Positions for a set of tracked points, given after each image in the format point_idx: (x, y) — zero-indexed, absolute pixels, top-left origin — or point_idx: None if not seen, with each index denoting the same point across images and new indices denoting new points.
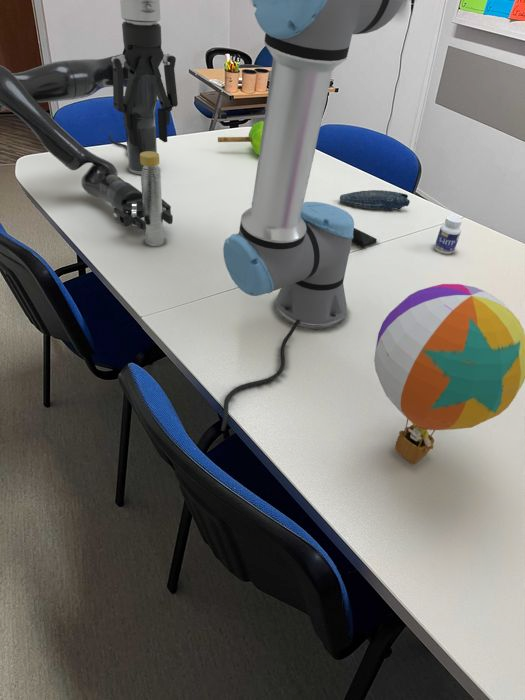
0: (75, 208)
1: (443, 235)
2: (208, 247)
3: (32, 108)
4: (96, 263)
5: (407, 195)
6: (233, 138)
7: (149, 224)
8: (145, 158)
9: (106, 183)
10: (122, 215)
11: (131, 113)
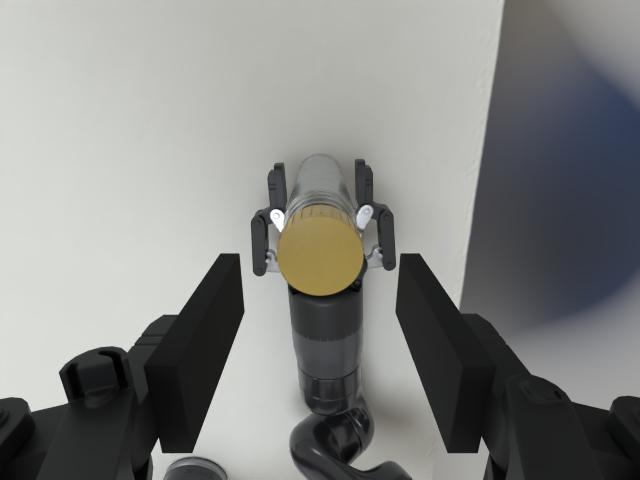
0: (396, 380)
1: None
2: (211, 88)
3: None
4: (479, 143)
5: None
6: None
7: (339, 171)
8: (353, 229)
9: (353, 383)
10: (393, 223)
11: (479, 398)
